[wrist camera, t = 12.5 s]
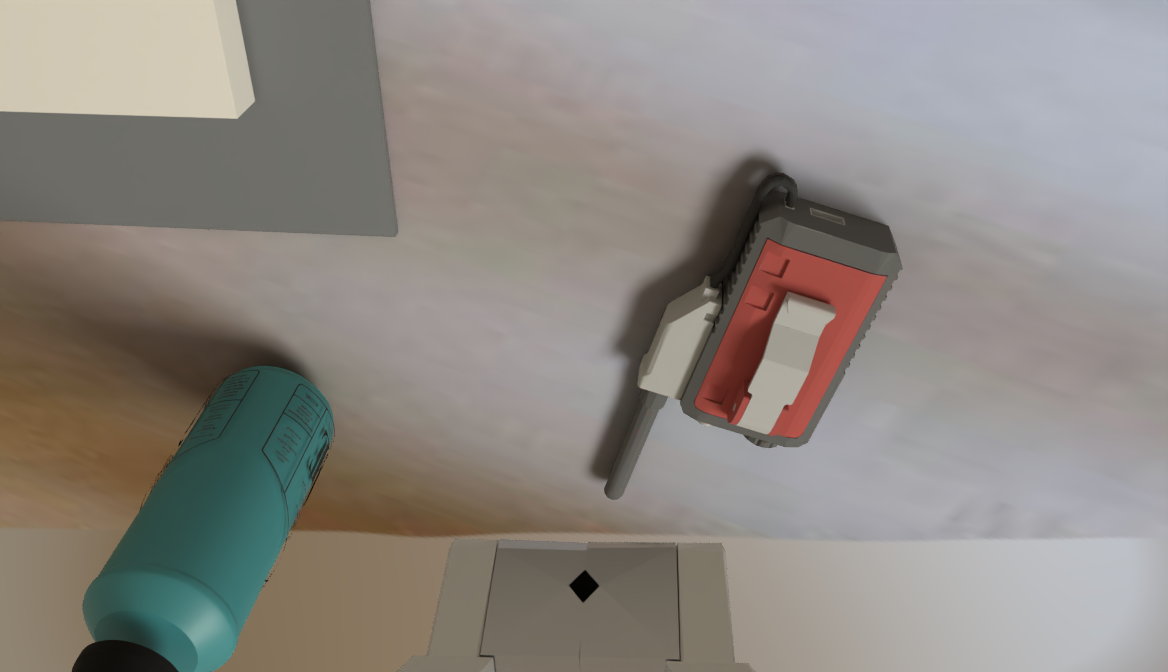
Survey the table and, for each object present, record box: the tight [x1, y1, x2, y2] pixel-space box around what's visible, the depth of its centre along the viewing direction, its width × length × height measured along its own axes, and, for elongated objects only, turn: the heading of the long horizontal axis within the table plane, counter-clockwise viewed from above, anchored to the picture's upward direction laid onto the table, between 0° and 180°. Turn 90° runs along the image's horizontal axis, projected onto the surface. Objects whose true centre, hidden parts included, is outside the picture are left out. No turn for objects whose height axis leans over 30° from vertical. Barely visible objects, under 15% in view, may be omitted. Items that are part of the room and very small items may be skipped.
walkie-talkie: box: [604, 173, 903, 500], centre depth 49 cm, size 9×4×20 cm
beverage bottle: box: [72, 366, 335, 672], centre depth 47 cm, size 6×7×20 cm
